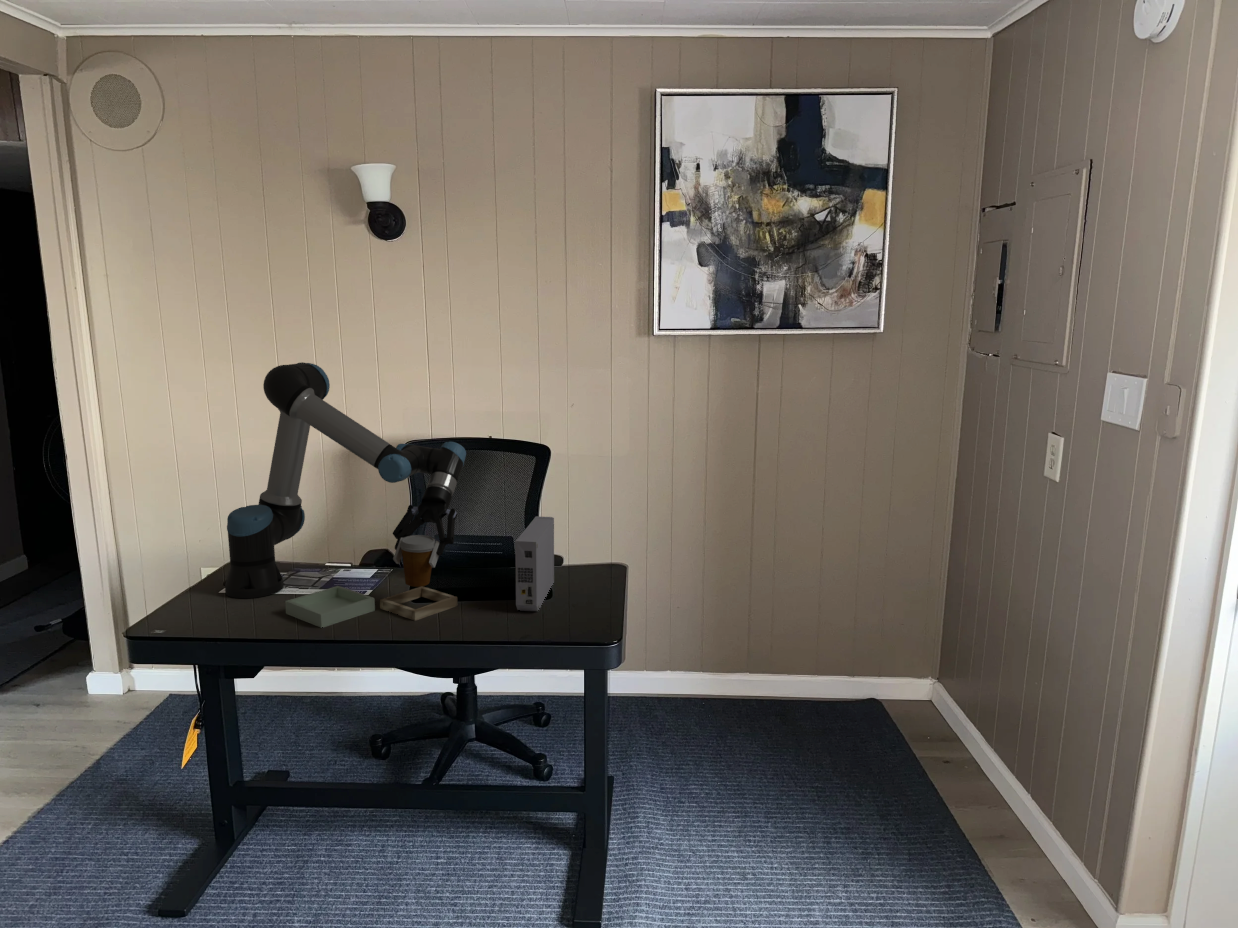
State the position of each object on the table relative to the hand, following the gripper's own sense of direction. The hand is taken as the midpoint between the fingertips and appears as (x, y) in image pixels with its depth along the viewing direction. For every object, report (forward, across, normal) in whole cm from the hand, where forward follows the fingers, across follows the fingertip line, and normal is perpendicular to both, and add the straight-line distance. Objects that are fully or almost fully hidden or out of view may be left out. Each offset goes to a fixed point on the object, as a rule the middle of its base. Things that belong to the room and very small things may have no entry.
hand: (413, 563), depth 219 cm
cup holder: (+7, 0, -11) cm, 14 cm away
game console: (-4, -28, -23) cm, 36 cm away
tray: (+14, +21, -5) cm, 26 cm away
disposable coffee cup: (+3, 0, -7) cm, 7 cm away
